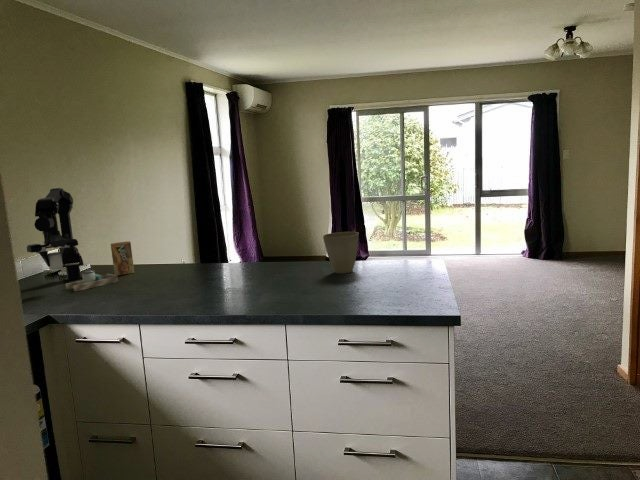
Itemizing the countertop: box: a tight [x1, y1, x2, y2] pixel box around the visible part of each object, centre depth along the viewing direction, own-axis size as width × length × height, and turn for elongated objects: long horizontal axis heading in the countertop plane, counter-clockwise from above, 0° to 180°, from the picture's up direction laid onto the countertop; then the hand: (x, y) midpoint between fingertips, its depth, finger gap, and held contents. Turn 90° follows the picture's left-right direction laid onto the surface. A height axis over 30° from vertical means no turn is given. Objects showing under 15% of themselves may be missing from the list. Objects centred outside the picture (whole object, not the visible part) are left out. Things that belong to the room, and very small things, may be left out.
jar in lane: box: [81, 269, 96, 284], centre depth 227 cm, size 5×5×7 cm
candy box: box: [110, 240, 135, 276], centre depth 249 cm, size 9×4×15 cm, turn 116°
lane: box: [65, 273, 119, 292], centre depth 228 cm, size 19×9×3 cm, turn 138°
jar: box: [48, 251, 64, 271], centre depth 219 cm, size 5×5×7 cm
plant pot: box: [322, 231, 359, 275], centre depth 217 cm, size 15×15×16 cm
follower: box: [95, 273, 103, 281], centre depth 229 cm, size 1×6×4 cm, turn 48°
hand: (55, 265), depth 220 cm, fingers closed on jar, 5 cm apart
